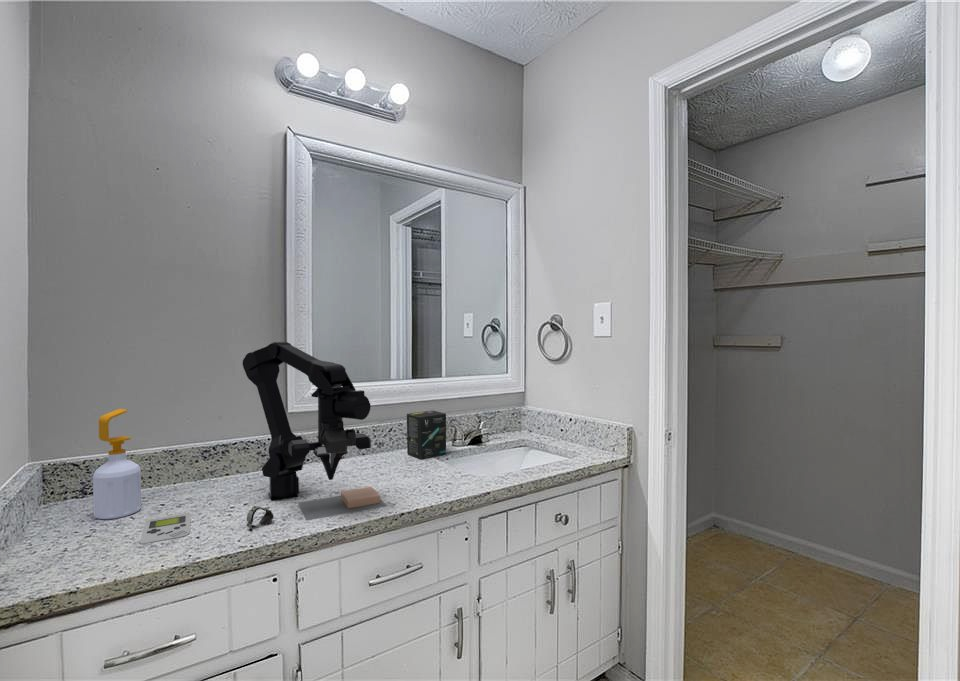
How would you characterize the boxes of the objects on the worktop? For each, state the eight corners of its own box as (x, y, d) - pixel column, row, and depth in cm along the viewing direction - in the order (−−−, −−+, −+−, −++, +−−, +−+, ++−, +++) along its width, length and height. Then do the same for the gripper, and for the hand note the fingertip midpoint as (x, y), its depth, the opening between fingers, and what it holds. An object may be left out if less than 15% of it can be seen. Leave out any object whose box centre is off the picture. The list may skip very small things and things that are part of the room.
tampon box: (432, 449, 178) (431, 409, 177) (447, 454, 171) (447, 413, 170) (406, 454, 171) (405, 413, 170) (420, 460, 164) (420, 416, 163)
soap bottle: (148, 510, 118) (147, 409, 117) (104, 522, 110) (102, 414, 110) (130, 503, 123) (128, 406, 122) (86, 515, 115) (84, 411, 114)
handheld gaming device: (139, 543, 99) (145, 518, 112) (139, 546, 99) (146, 521, 112) (189, 533, 103) (190, 511, 116) (189, 537, 103) (190, 514, 116)
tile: (348, 500, 118) (380, 495, 121) (340, 491, 125) (371, 486, 128) (348, 508, 118) (380, 503, 121) (340, 498, 125) (371, 493, 129)
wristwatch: (262, 535, 107) (276, 513, 110) (244, 524, 104) (258, 502, 107) (256, 532, 109) (270, 511, 112) (238, 522, 106) (252, 501, 109)
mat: (306, 522, 111) (306, 520, 111) (297, 504, 122) (297, 502, 122) (387, 507, 120) (387, 505, 120) (372, 491, 131) (372, 490, 131)
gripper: (295, 425, 108) (295, 495, 108) (377, 418, 117) (377, 482, 117) (287, 417, 117) (288, 481, 118) (364, 411, 126) (364, 470, 127)
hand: (330, 479), depth 120 cm, fingers closed
